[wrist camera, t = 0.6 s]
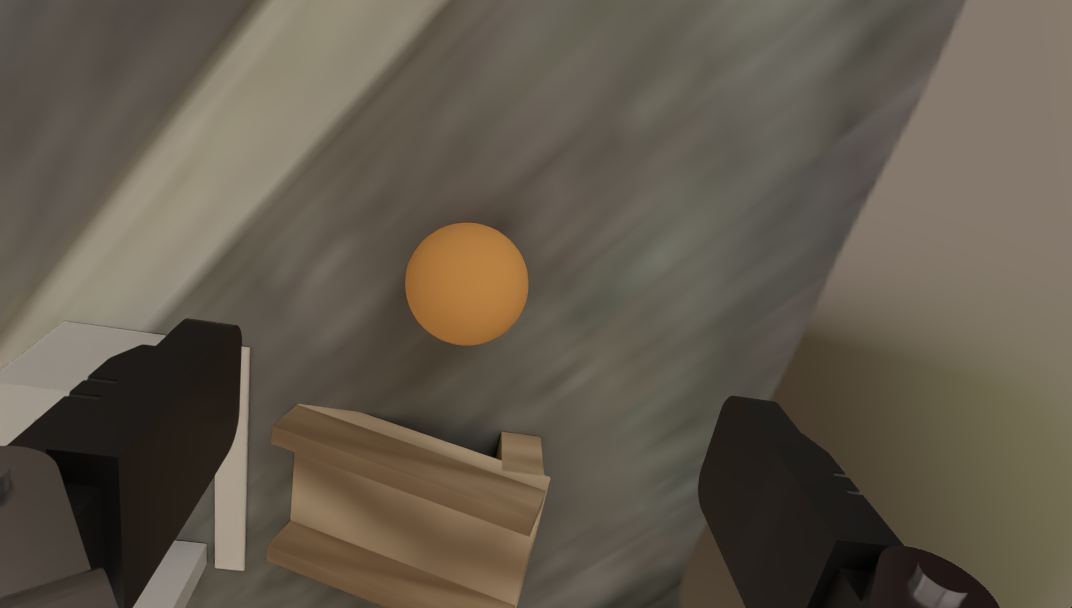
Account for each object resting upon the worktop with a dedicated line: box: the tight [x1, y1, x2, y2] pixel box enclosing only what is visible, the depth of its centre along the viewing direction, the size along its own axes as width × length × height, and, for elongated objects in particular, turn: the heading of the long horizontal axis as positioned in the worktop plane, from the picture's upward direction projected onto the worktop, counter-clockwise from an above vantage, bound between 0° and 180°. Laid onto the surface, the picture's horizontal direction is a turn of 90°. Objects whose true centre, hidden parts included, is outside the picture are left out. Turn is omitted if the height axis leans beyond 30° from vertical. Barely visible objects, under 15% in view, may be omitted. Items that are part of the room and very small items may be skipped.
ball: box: [405, 223, 528, 345], centre depth 27 cm, size 5×5×5 cm
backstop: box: [0, 321, 207, 608], centre depth 31 cm, size 14×6×5 cm, turn 169°
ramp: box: [266, 404, 551, 608], centre depth 32 cm, size 8×13×7 cm, turn 79°
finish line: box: [215, 346, 250, 571], centre depth 33 cm, size 14×2×1 cm, turn 169°
